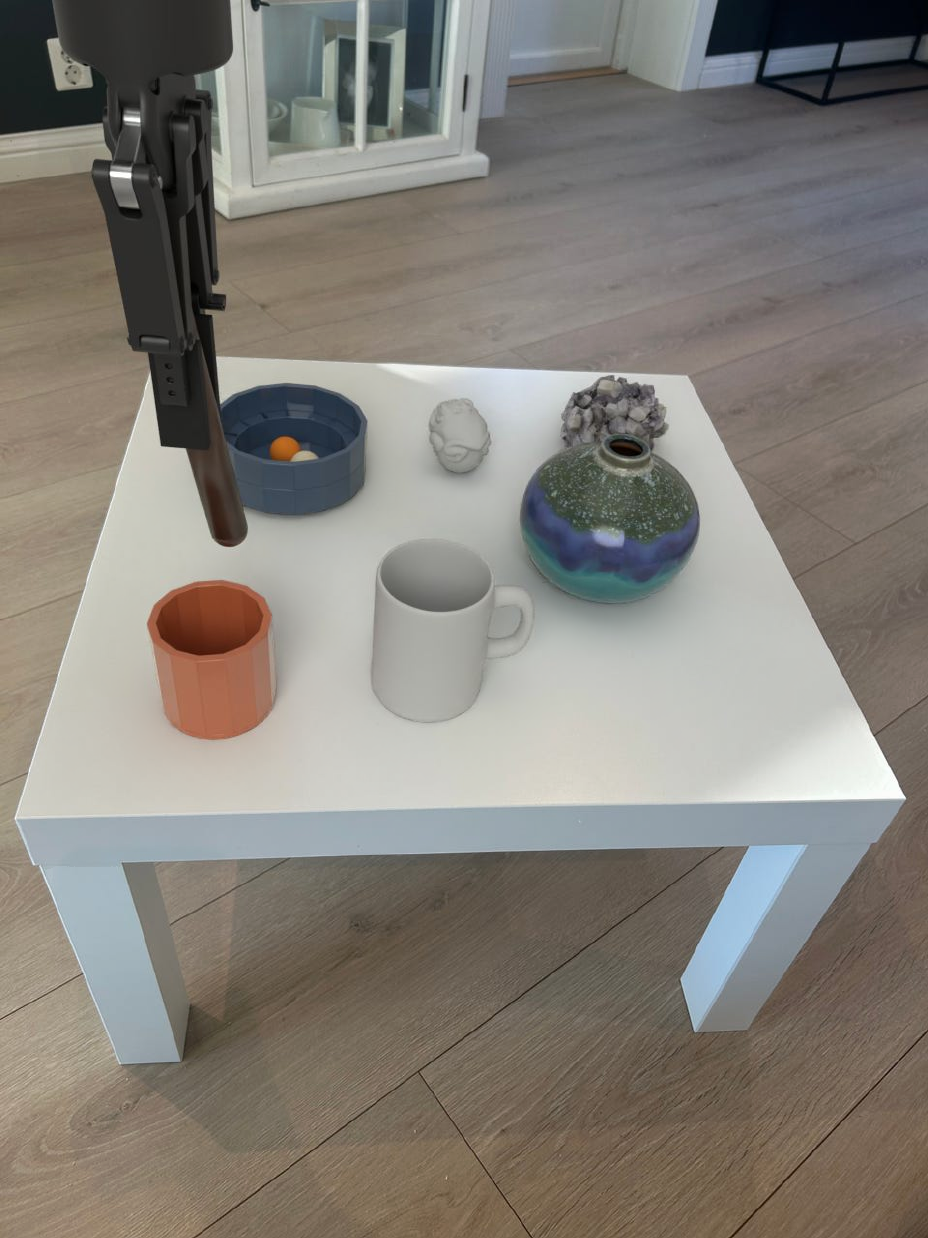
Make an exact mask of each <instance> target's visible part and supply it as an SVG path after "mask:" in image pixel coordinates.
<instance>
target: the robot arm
mask: <svg viewBox="0 0 928 1238" xmlns="http://www.w3.org/2000/svg"><path fill="white" fill-rule="evenodd" d="M51 1H52V8H53V14H54V19H55V25H56V31H57V32H56V33H57V37H58V43H59V45H60V47H61V49H62V51H63V52H64V53H65V55H66V56H67V57H68V58H70V59H71V60H73V62H76V63H78V64H80V65H82V66H83V67H91V68H93V69H94V70H96V71H97V72H99V73H100V74H101V75H102V76H103V77H104V78H105V81H106V82H105V83H106V84H107V88H106V100H107V103H106V104H107V105H106V106H104V107H103V109H102V116H101V117H102V129H103V138H104V143H105V146H106V148H107V149H108V150H109V152H110V155H111V159H103V158H95V159H93V162H92V165H91V172H90V173H91V179H92V182H93V186H94V188H95V191H96V194H97V196H98V199H99V202H100V205H101V208H102V210H103V213H104V217H105V222H106V227H107V231H108V237H109V243H110V247H111V252H112V259H113V262H114V267H115V272H116V278H117V283H118V287H119V292H120V297H121V298H120V299H121V302H122V307H123V313H124V317H125V322H126V327H127V328H126V329H127V332H128V336H127V337H126V341H127V344H128V345H129V346H130V347H131V350H132V351H133V352H137V353H147V358H148V365H149V366H148V367H149V372H150V380H151V386H152V394H153V400H154V407H155V415H156V421H157V428H158V436H159V443H160V447H164V448H175V449H185V450H186V449H197V450H208V449H209V447H210V444H211V440H210V430H209V420H208V410H207V400H206V390H205V380H204V369H203V359H202V349H203V353H204V357H205V361H206V364H207V368H208V372H209V376H210V380H211V384H212V388H213V392H214V396H215V400H216V403H217V407H218V411H219V415H220V418H221V407H220V404H221V399H220V388H219V387H220V385H219V375H218V366H217V365H218V363H217V362H218V361H217V353H216V341H215V330H214V318H213V314H207V313H206V311H218V312H225V311H226V308H227V294H224V293H215V292H213V286H217V285H218V283H219V280H220V270H219V262H218V244H217V224H216V207H215V206H216V205H215V186H214V185H215V184H214V169H213V151H212V115H213V113H212V112H213V111H212V109H213V108H214V100H213V98H212V93H211V91H210V90H207V89H198V88H197V85H196V77H195V76H198V75H201V74H207V73H210V72H214V71H216V70H219V69H221V68H222V67H224V66H225V65H226V64H227V63H229V61H230V60H231V58H232V57H233V53H234V39H233V22H232V5H231V0H51ZM192 310H193V314H194V318H195V322H196V325H197V329H198V333H199V337H200V340H196V339H195V335H194V330H193V316H192ZM201 345H202V349H201Z"/></svg>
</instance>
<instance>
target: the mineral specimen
mask: <svg viewBox="0 0 928 1238" xmlns="http://www.w3.org/2000/svg"><path fill="white" fill-rule="evenodd" d="M627 379H628V378H627V377H621V376H618V378H617V379H615V374H608V375H606V376H600V377H598V379H597V380H596V381H594V383H593V384H592V385H591V386H588V387H586V388H584V389H581V391H577V392H576V391H575V392H574V391H573V392H572V393H571V396H570V398H569V400H568V401H567V403H566V405H565V407H564V410H563V412H562V413H561V415H560V418H561V421H563V424H562V426H561V428H560V434H559V437H560V438H561V440H562V441H563V442H564V443H565V445H566V446H567V448H569V447H572V446H575V445H579V444H583V443H588V442H596V441H603V439H605V438H606V437H608V436H610V435H613V434H628V435H632V436H635V437H638V438H640V439H642V440H643V441H644V442H646V443H647V444H648V446H649V447H650V451H651V452H652V450H653V449H654V448H655V443H654V439H660V438H661V437H662V436H664V435H666V433H667V432H668V431H669V428H670V427H669V426H670V424H669V423H666V422H665V418H666V416H667V406H665V405H664V404H663V403H661V402H659V398H658V397H656V395H655V393H656V390H655V386H654V384H647V383H643V384H639V382H638V381H636V382H633V383H629V382H628V380H627Z"/></svg>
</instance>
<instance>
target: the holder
mask: <svg viewBox="0 0 928 1238" xmlns="http://www.w3.org/2000/svg"><path fill="white" fill-rule="evenodd" d="M148 616H149V617H148V619H147V621H146V628H147V633H148V639H149V645H150V650H151V655H152V662H153V668H154V673H155V679H156V684H157V689H158V696H159V700H160V703H161V708H162V711H163V714H164V716H165V719H167V721H168V722H169V723H170V725H171V726H173V727H174V728H175V729H176V730H178V731H179V732H180V733H183V734H185V735H187V736H189V737H194V738H197V739H202V740H203V739H204V740H225V739H229V738H233V737H237V736H240V735H243V734H246V733H248V732H249V731H251V730H253V729H254V728H256V727H258V726H259V725H260V724H261V723H262V722H263V721H264V720H265V719H266V718H267V717H268V716H269V714H270V713H271V711H272V708H273V707H274V703H275V700H276V690H277V680H276V679H277V678H276V665H275V663H276V662H275V661H276V660H275V644H274V629H273V628H274V627H273V625H274V624H273V614H272V612H271V609H270V607H269V604H268V603H267V601H266V599H265V597H264V596H263V595H261V594H260V593H258V592H256V591H255V590H254V589H252V588H251V587H249V586H247V584H241V583H237V582H233V581H228V580H224V579H213V580H199V581H193V582H190V583H188V584H186V585H182V586H180V587H177V588H174V589H172V590H170V591H169V592H168V593H166V594H165V595H164V596H162V598H160V599H159V600H158V601H157V602H156V603H155V604H154V605H153V607H152V608H151V612H150V614H149V615H148Z"/></svg>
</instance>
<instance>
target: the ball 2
mask: <svg viewBox="0 0 928 1238" xmlns="http://www.w3.org/2000/svg"><path fill="white" fill-rule="evenodd" d="M312 459H319V458H318V457H317V455H315V454H314V453H312V452H310V451H300V452H298V453H296V454H295V455H294V456H293V457H292V458H291V460H290V462H297V461H304V460H312Z"/></svg>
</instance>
